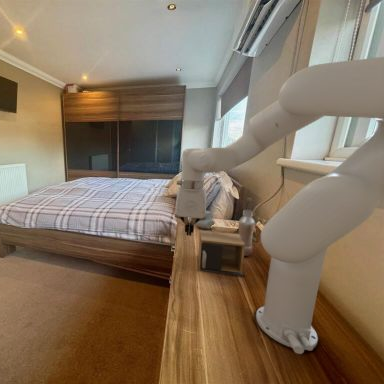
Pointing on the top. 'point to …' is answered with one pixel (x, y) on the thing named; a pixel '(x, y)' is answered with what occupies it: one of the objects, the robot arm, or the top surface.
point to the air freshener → (206, 221)
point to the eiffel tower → (248, 209)
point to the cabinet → (225, 251)
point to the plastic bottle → (247, 230)
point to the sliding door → (211, 256)
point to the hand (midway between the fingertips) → (188, 233)
